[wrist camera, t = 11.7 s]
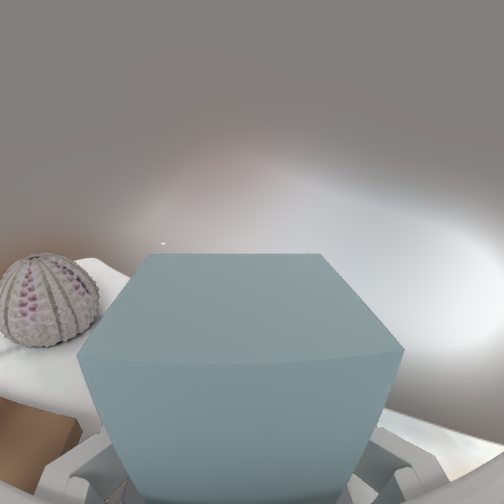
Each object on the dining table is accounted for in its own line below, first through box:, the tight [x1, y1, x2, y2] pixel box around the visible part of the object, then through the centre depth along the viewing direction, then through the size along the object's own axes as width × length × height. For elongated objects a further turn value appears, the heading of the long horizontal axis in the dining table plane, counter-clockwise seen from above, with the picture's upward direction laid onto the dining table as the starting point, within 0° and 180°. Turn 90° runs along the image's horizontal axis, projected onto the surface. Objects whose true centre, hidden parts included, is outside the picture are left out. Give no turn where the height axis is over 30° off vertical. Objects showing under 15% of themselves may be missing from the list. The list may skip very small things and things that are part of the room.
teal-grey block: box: [77, 254, 404, 504], centre depth 8 cm, size 5×5×12 cm
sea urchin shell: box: [0, 252, 100, 348], centre depth 26 cm, size 13×14×8 cm
